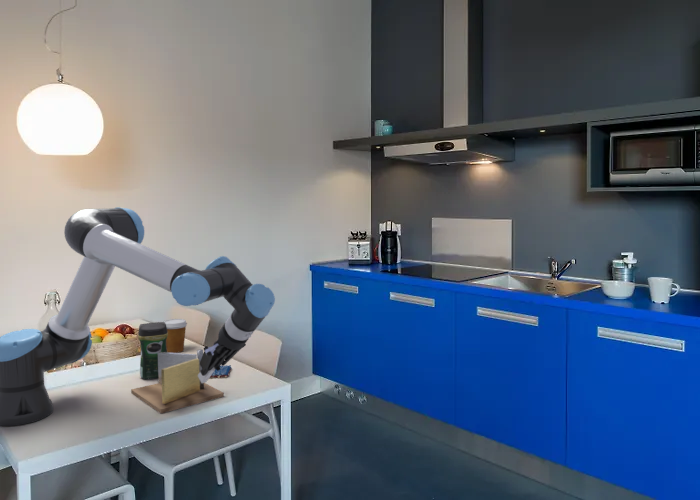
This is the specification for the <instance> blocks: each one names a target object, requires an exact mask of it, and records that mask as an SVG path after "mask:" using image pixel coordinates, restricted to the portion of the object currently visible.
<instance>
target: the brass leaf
mask: <svg viewBox="0 0 700 500" xmlns="http://www.w3.org/2000/svg"><path fill="white" fill-rule="evenodd" d="M198 374H199V359H197V358H196V359H193V360H189V361H186V362H183V363H180V364H177V365H174V366H170V367H167V368H164V369H161V377H162V403H164V404H166V403H169V402H171V401H174V400H177V399H179V398H182V397H184V396H187V395H190V394H192V393H195V392H197V391H200V380H199V378H198Z"/></svg>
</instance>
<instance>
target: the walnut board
mask: <svg viewBox="0 0 700 500" xmlns="http://www.w3.org/2000/svg"><path fill="white" fill-rule="evenodd" d="M130 392H131V394H132V395H133V396H135V397H136V398H138V399H139V400H140V401H142V402H143V403H144V404H146V405H147V406H149V407H150V408H152V409H153V410H154V411H156V412H158V413H159V414H165V413H169V412H171V411H176V410H178V409H182V408H186V407H190V406H194V405H198V404H202V403H205V402H208V401H212V400H216V399H219V398H223V397H224V396H225V394H224V391H221V390H220V389H217V388H215V387H213V386H212V385H210V384H207V382H205V383H204V389H202V390H200V391H197V392H195V393H192V394H190V395H187V396H184V397H182V398H179V399H177V400H174V401H171V402H169V403H166V404H164V403H162V384H159V382H157V383H153V384H150V385H149V384H148V385H145V386H140V387H136V388H132V389H130Z"/></svg>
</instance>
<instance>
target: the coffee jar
mask: <svg viewBox="0 0 700 500" xmlns="http://www.w3.org/2000/svg"><path fill="white" fill-rule="evenodd" d="M167 336H168V331H167V327H166V324H165V322H163V321H158V322H157V321H156V322H148V323H147V322H146V323H140V324H139V326H138V333H137V337H138V341H139V344H140V362H139V376H140V379H142V380H157V379H159V376H158V352H167V347H166V339H167Z"/></svg>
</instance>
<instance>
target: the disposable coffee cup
mask: <svg viewBox="0 0 700 500" xmlns="http://www.w3.org/2000/svg"><path fill="white" fill-rule="evenodd" d="M162 322H165V324H166V327H167V331H168V336H167V339H166V347H167V352H170V353H181V352H184V350H185V348H184V347H185V339H186V328H187V325H188V322H187V321H186V319H183V318H170V319H166V320H164V321H162Z"/></svg>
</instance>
